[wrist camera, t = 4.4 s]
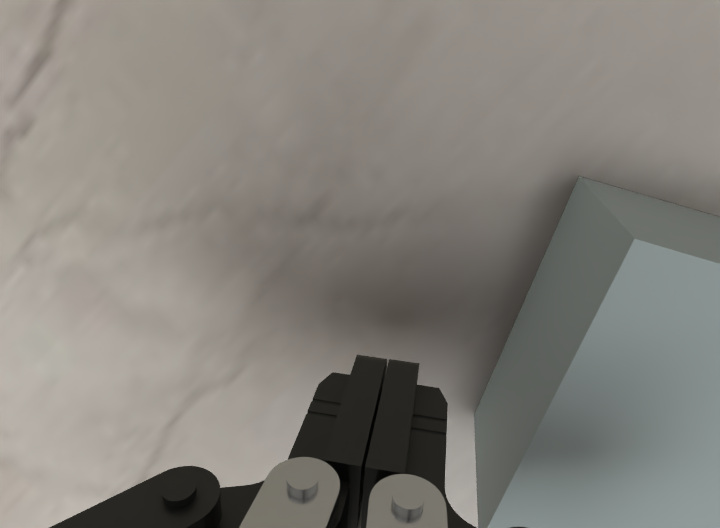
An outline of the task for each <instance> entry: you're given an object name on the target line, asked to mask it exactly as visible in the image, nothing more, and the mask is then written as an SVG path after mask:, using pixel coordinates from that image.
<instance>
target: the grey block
mask: <svg viewBox="0 0 720 528" xmlns="http://www.w3.org/2000/svg"><path fill="white" fill-rule="evenodd" d="M474 424H475V451H476V478H477V505H478V528H510V527H526V528H720V217H718V216H715V215H711V214H708V213H704V212H701V211H697V210H694V209H691V208H687V207H684V206H680V205H677V204H673V203H670V202H666V201H663V200H660V199H656V198H653V197H649V196H646V195H642V194H639V193H635V192H632V191H628V190H625V189H622V188H618V187H615V186H611V185H608V184H604V183H601V182H597V181H594V180H591V179H587V178H584V177H580V176H579V177H578V180H577V182H576V184H575V187H574V189H573V191H572V193H571V196H570V198H569V200H568V202H567V205H566V207H565V209H564V212H563V214H562V216H561V218H560V221H559V223H558V225H557V228H556V230H555V232H554V234H553V237H552V239H551V241H550V243H549V246H548V248H547V250H546V253H545V255H544V257H543V259H542V262H541V264H540V266H539V269H538V271H537V273H536V275H535V278H534V280H533V282H532V284H531V287H530V289H529V291H528V294H527V296H526V298H525V300H524V303H523V305H522V307H521V309H520V312H519V314H518V316H517V319H516V321H515V323H514V325H513V328H512V330H511V332H510V335H509V337H508V339H507V341H506V344H505V346H504V348H503V350H502V353H501V355H500V357H499V360H498V362H497V364H496V366H495V369H494V371H493V373H492V376H491V378H490V380H489V382H488V385H487V387H486V389H485V391H484V394H483V396H482V398H481V401H480V403H479V405H478V407H477V410H476V412H475V414H474Z"/></svg>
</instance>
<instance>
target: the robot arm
mask: <svg viewBox="0 0 720 528" xmlns="http://www.w3.org/2000/svg"><path fill="white" fill-rule="evenodd" d="M418 370H419V364H418V363H411V362H405V361H398V360H391V359H389V363H388V367H387V359H383V358H376V357H369V356H362V355H357V357H356V359H355V362H354V366H353V369H352V372H351V375H347V374H340V373H331V374H330V375H329V376H328V377H327V378H325V379H324V380H323V381H322V382H321V383H319V385H318V387H317V390H316V392H315V395H314V397H313V401H312V402H311V404H310V407H309V409H308V413H307V414H306V417H305V419H304V421H303V424H302V426H301V429H300V431H299V433H298V436H297V438H296V441H295V443H294V446H293V448H292V450H291V453H290V455H289V458H288V460H286V461H284V462H282V463H280V464H278V465H277V466H276V467H274V468H273V469H272V470H271V471H270V473H269V474H268V476H267V478H266V479H265V481H262V482H260V483H256V484H252V485H246V486H235V487H225V488H220V485H219V482H218V480H217V478H216V476H215V475H213V474H212V473H211V472H210V471H208V470H206V469H204V468H200V467H196V466H182V467H177V468H173V469H170V470H167V471H165V472H163V473H161V474H159V475H156V476H154V477H152V478H150V479H148V480H146V481H144V482H142V483H140V484H138V485H136V486H134V487H132V488H130V489H128V490H126V491H124V492H122V493H120V494H118V495H116V496H113V497H111V498H109V499H107V500H105V501H103V502H101V503H99V504H97V505H95V506H93V507H91V508H89V509H87V510H85V511H83V512H81V513H79V514H77V515H75V516H72V517H70V518H68V519H66V520H64V521H62V522H60V523H58V524H56V525H54V526H52V527H50V528H476V527H474V526H472V525H471V524H469V523H467V522H466V521H465V520H463V519H462V518H461V517H460V516H459V515H458V514H457V513H456V512H455V511H454V510H453V509H452V507H451V506H450V504H449V502H448V500H447V498H446V494H445V459H446V432H447V404H448V403H447V402H446V400H445V398H444V396H443V394H442V393H441V391H440V389H439V388H435V387H428V386H422V385H417V379H418ZM510 528H526V527H510Z"/></svg>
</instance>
